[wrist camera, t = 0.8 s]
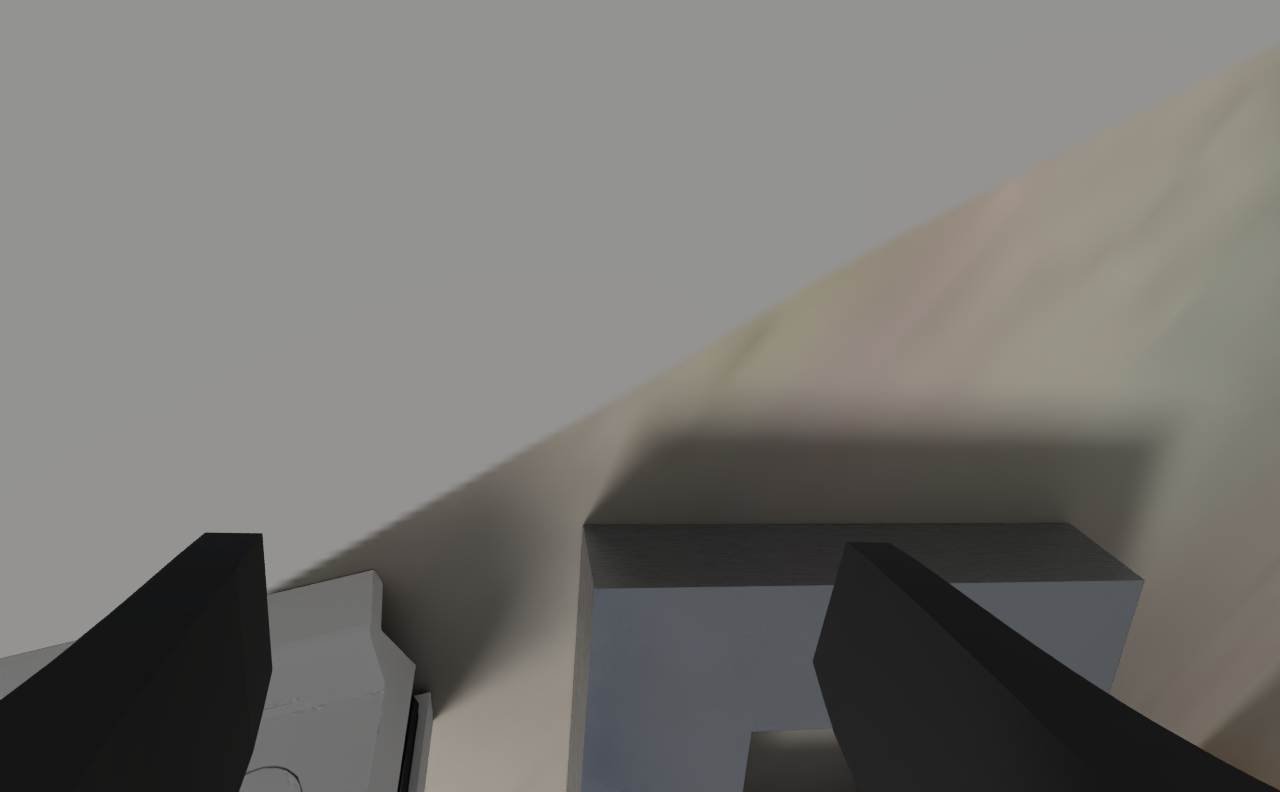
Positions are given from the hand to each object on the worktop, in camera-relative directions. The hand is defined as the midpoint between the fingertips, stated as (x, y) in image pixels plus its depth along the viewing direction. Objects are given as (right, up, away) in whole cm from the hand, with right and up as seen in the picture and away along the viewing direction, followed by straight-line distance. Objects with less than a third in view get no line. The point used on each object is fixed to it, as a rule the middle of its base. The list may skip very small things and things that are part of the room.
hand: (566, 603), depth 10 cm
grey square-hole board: (+6, -7, +15) cm, 17 cm away
